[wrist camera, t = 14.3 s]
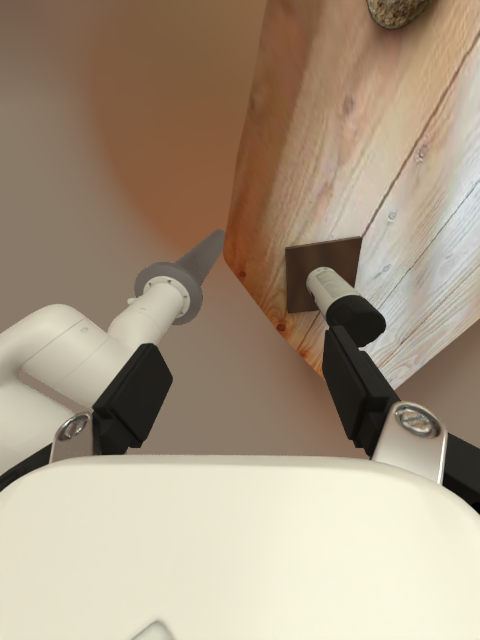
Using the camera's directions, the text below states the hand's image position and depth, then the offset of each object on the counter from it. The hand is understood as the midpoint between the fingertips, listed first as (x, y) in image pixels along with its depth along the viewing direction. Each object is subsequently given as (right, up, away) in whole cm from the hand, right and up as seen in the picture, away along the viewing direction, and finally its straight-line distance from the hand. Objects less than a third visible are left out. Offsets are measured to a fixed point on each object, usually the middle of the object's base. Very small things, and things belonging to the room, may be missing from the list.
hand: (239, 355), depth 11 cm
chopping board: (+19, +12, +34) cm, 41 cm away
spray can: (+18, +11, +33) cm, 39 cm away
